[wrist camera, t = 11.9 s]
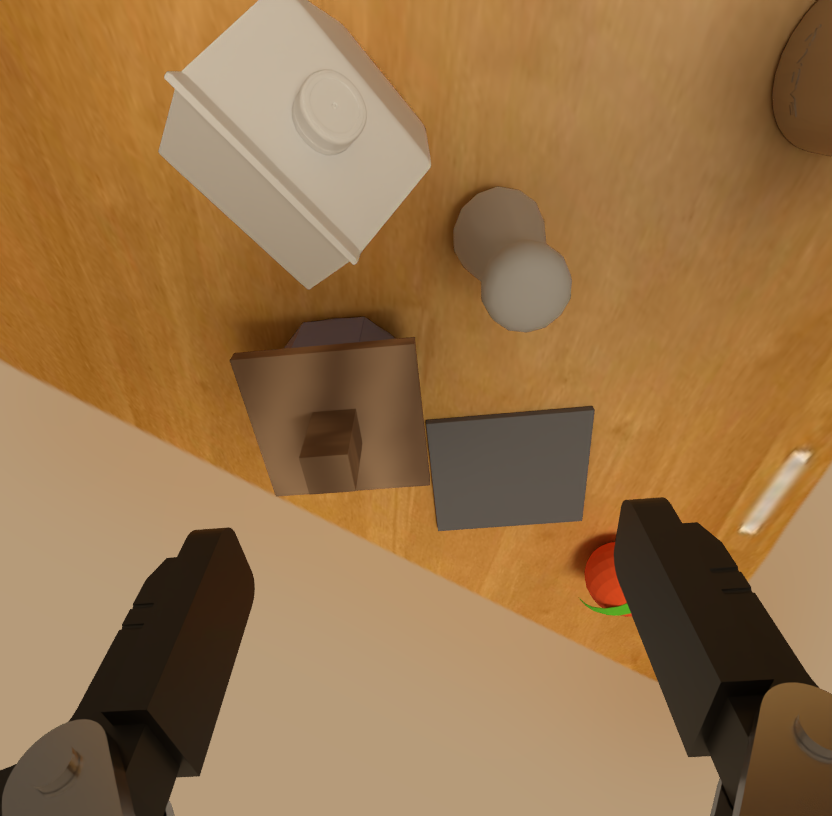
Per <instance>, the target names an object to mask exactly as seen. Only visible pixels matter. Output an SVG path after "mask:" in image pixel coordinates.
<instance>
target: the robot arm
mask: <svg viewBox="0 0 832 816" xmlns="http://www.w3.org/2000/svg"><path fill="white" fill-rule="evenodd" d="M772 96H773V112H774V115H775V119H776V122H777V126H778V127H779V129H780V130H781V132H782V134H783V135H784V137H785V138H786V139H787V140H789V141H790V142H791V143H792V144H793V145H794V146H796V147H798V148H801V149H803V150H806V151H808V152H813V153H818V154H823V155H828V156H832V0H818V1H817V2H816V3H815V4H814V6H813V7H812V8H811V9H810V10H809V11H808V12H807V13H806V15H805V16H804V17H803V19H802V20H801V22H800V23H799V25H798V26H797V27H796V29H795V30H794V32H793V33H792V35H791V37H790V39H789V41H788V43H787V45H786V47H785V49H784V51H783V53H782V56H781V59H780V62H779V65H778V68H777V71H776V74H775V80H774V86H773V93H772ZM614 565H615V571H616V575H617V579H618V582H619V584H620V587H621V589H622V592H623V594H624V597H625V599H626V602H627V604H628V607H629V609H630V612H631V614H632V617H633V619H634V622H635V624H636V627H637V629H638V632H639V635H640V637H641V640H642V642H643V645H644V647H645V650H646V652H647V655H648V657H649V660H650V662H651V665H652V667H653V670H654V672H655V675H656V677H657V680H658V682H659V685H660V687H661V689H662V692H663V694H664V697H665V700H666V702H667V705H668V707H669V710H670V712H671V715H672V717H673V720H674V722H675V725H676V727H677V730H678V732H679V735H680V737H681V740H682V742H683V745H684V747H685V750H686V752H687V755H688V757H700V756H711V758H712V760H713V763H714V765H715V767H716V770H717V772H718V774H719V777H720V779H719V782H718V785H717V789H716V793H715V797H714V802H713V806H712V810H711V814H710V816H832V694H831V693H829V692H827V691H825V690H822V689H820V688H819V687H818V686H817V685H816V684H815V682H814V681H813V680H812V679H811V677H810V676H809V675H808V673H807V672H806V671H805V669H804V668H803V666H802V664H801V663H800V661H799V660H798V658H797V657H796V655H795V654H794V652H793V651H792V649H791V648H790V646H789V645H788V643H787V642H786V640H785V639H784V637H783V635H782V634H781V632H780V631H779V629H778V628H777V626H776V625H775V623H774V622H773V620H772V618H771V617H770V615H769V614H768V612H767V611H766V609H765V608H764V606H763V605H762V603H761V602H760V600H759V599H758V597H757V595H756V594H755V593H753V592H752V591H751V586H750V585H749V583H748V582H747V580H746V579H745V577H744V576H743V574H742V572H739V571H738V566H737V565H736V563H735V562H734V560H733V559H732V557H731V556H730V554H729V553H728V551H727V549H726V548H725V546H724V545H723V543H722V542H721V541H720V540H718V539H717V538H716V537H715V536H713V535H712V534H711V533H710V532H708V531H707V530H706V529H705V528H704V527H702V526H701V525H700V524H699V523H697V522H696V523H682V522H681V520H680V519H679V517H678V515H677V514H676V512H675V510H674V509H673V507H672V505H671V504H670V502H669V501H668V500H667V499H666V498H663V497H661V498H647V499H633V500H625V501H623V503H622V506H621V511H620V517H619V523H618V529H617V535H616V541H615V547H614ZM254 590H255V588H254V578H253V574H252V571H251V569H250V566H249V564H248V562H247V560H246V557H245V555H244V552H243V550H242V548H241V546H240V543H239V541H238V539H237V536H236V534H235V532H234V531H233V530H232V529H231V528H217V529H203V530H194V531H192V532H191V533H190V534H189V535H188V536H187V538H186V540H185V542H184V544H183V546H182V548H181V550H180V552H179V554H178V556H177V557H174V558H166V560H165V561H164V562H163V563H162V564H161V565H160V566H159V567H158V568H157V569H156V570H155V571H154V572H153V573H152V574H151V575H150V576H149V577H148V578H147V579H146V581H145V583H144V584H143V586H142V588H141V590H140V592H139V594H138V596H137V598H136V599H135V601H134V603H133V609H130V611H129V613H128V614H127V616H126V618H125V620H124V622H123V624H122V630H119V631H118V633H117V635H116V637H115V639H114V641H113V642H112V645H111V646H110V648H109V650H108V652H107V654H106V656H105V658H104V659H103V661H102V663H101V665H100V667H99V669H98V671H97V673H96V674H95V676H94V678H93V680H92V682H91V684H90V686H89V687H88V690H87V691H86V693H85V695H84V697H83V699H82V701H81V702H80V704H79V706H78V708H77V710H76V711H75V713H74V715H73V716H72V718H71V719H70V720H69V722H67V723H65V724H62V725H60V726H58V727H56V728H55V729H53V730H51V731H50V732H48V733H47V734H45V735H44V736H43V737H41V738H40V739H39V740H38V741H37V742H35V743H34V744H33V745H32V746H31V747H30V748H29V749H28V750H27V751H26V752H25V754H24V755H23V756H22V757H21V758H20V760H19V761H18V763H17V764H15V765H13V766H11V767H8V768H6V769H3V770H0V816H174V812H173V808H172V805H171V803H170V801H169V797H170V795H171V792H172V789H173V786H174V783H175V780H176V777H193V776H200V773H201V770H202V767H203V763H204V760H205V757H206V754H207V750H208V747H209V744H210V740H211V737H212V734H213V731H214V728H215V724H216V721H217V718H218V715H219V711H220V708H221V705H222V701H223V698H224V695H225V692H226V688H227V685H228V682H229V679H230V676H231V672H232V669H233V666H234V662H235V659H236V656H237V653H238V650H239V646H240V643H241V640H242V637H243V633H244V630H245V627H246V624H247V620H248V617H249V614H250V610H251V607H252V604H253V600H254Z"/></svg>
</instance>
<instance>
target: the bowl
mask: <svg viewBox="0 0 832 816" xmlns="http://www.w3.org/2000/svg"><path fill="white" fill-rule="evenodd" d="M388 339H396V338H394V337H393V336H392V335H391V334H390V333H388V332H387V331H385V330H384V329H382V328H380V327H378V326H377V325H375V324H374V323H373V322H371V321H370V320H368V319H367V318H366V317H356V318H333V319H326V320H323V321H314V322H304V323H302V325H301V326H300V327H299V329H298V330H297V331H296V333H295V334H294V335H293V337H292V338H291V339H290V341H289V342H288V343H287V345H286V346H285V347H284V349H286V348H298V347H309V346H320V345H332V344H343V343H354V342H365V341H377V340H388Z"/></svg>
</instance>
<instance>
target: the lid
mask: <svg viewBox="0 0 832 816" xmlns="http://www.w3.org/2000/svg"><path fill="white" fill-rule="evenodd" d="M230 363H231V366H232V369H233V371H234V374H235V377H236V380H237V383H238V386H239V389H240V392H241V395H242V398H243V401H244V404H245V407H246V410H247V413H248V416H249V418H250V421H251V424H252V427H253V430H254V433H255V436H256V439H257V442H258V445H259V448H260V451H261V454H262V457H263V460H264V463H265V465H266V468H267V471H268V474H269V477H270V480H271V483H272V486H273V489H274V492H275V495H276V496H289V495H303V494H323V493H337V492H350V491H358V490H371V489H385V488H399V487H413V486H426V485H430V474H429V465H428V456H427V447H426V438H425V428H424V419H423V410H422V401H421V392H420V382H419V373H418V364H417V355H416V345H415V337H411V338H399V339H388V340H377V341H365V342H354V343H343V344H332V345H320V346H309V347H298V348H286V349H275V350H264V351H253V352H241V353H234V354H233V356H232V357H231V359H230Z"/></svg>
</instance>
